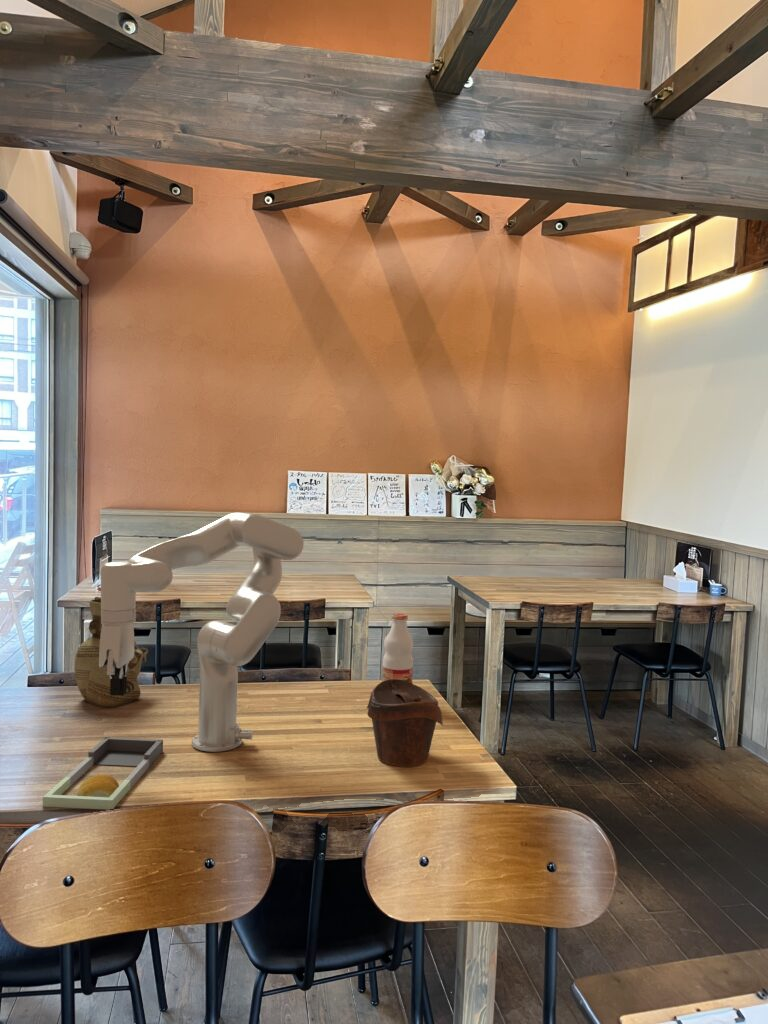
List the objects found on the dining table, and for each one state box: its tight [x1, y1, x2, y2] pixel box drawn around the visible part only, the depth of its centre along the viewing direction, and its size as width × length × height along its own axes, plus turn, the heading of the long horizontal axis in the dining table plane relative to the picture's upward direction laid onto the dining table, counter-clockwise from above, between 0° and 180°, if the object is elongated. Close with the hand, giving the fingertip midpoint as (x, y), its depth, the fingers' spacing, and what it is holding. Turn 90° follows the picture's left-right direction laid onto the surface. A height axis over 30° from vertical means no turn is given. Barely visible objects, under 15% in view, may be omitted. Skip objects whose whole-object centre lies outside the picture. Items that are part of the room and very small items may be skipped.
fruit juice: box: [381, 613, 414, 684], centre depth 226 cm, size 9×9×28 cm
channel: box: [42, 736, 164, 811], centre depth 166 cm, size 14×32×3 cm, turn 179°
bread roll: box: [76, 774, 120, 797], centre depth 157 cm, size 8×9×4 cm
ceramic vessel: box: [74, 598, 149, 709], centre depth 221 cm, size 19×21×30 cm
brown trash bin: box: [366, 679, 444, 768], centre depth 184 cm, size 18×20×18 cm
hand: (118, 694), depth 170 cm, fingers closed
